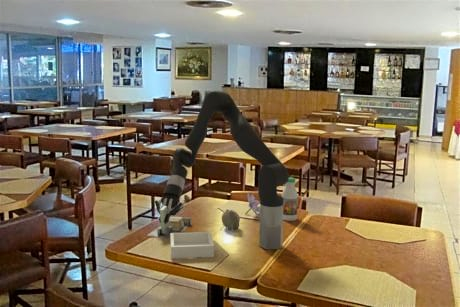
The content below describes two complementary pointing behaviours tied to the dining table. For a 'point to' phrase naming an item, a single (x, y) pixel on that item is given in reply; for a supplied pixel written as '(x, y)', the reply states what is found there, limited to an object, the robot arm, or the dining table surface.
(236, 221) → the grey rounded lump
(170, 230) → the rack
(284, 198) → the milk bottle
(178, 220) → the offcut top
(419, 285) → the dining table surface
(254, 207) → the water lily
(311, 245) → the dining table surface
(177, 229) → the offcut bottom
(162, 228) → the pale green block
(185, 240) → the tray
